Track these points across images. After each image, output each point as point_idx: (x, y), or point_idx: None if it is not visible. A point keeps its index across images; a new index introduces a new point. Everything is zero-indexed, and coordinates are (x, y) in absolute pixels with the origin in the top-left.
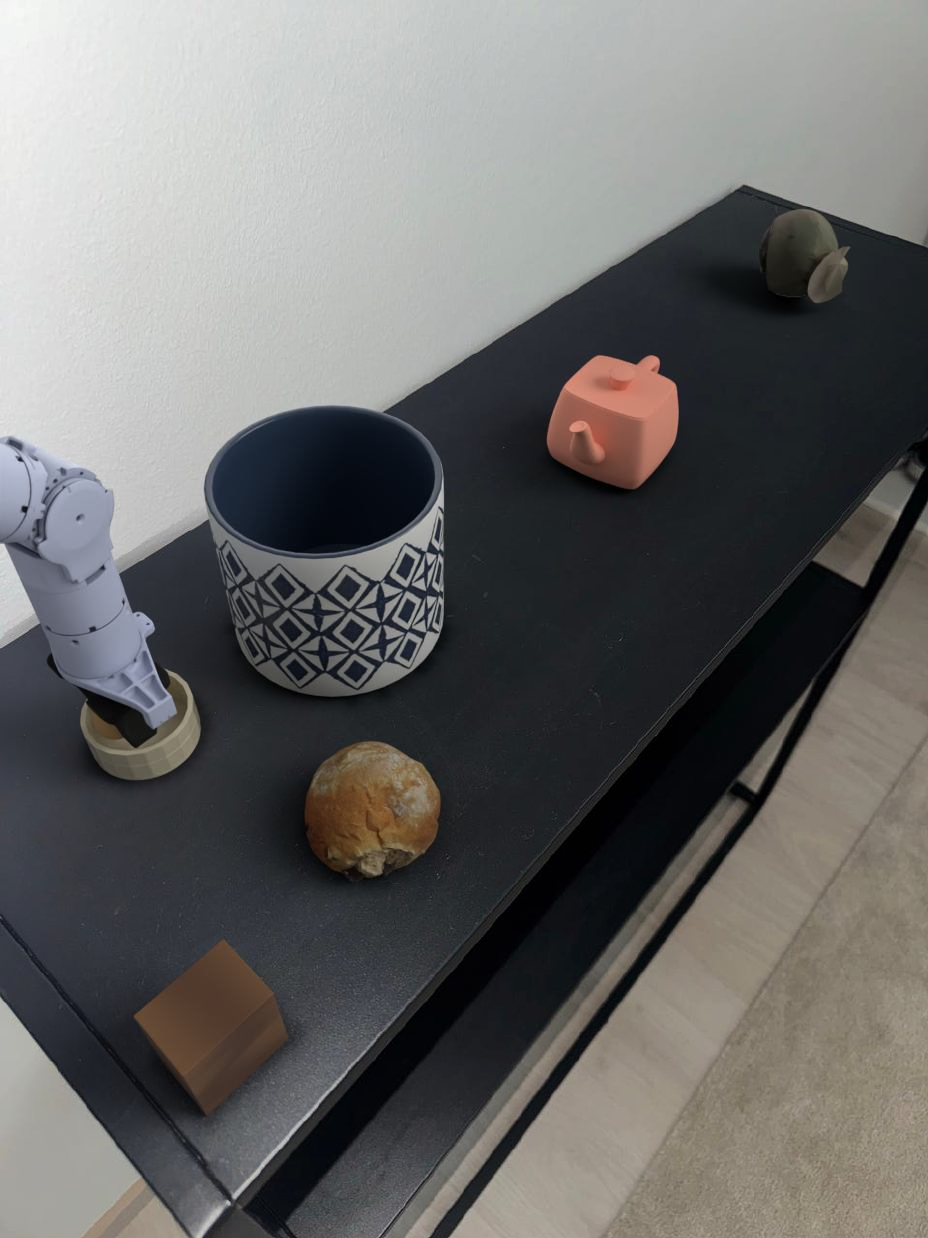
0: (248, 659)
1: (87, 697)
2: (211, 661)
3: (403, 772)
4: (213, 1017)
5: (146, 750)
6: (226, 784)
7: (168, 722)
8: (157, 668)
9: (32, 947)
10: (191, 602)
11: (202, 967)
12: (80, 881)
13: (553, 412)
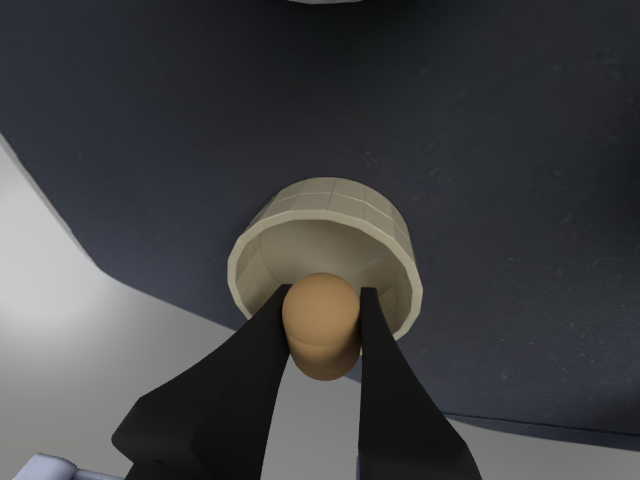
0: (311, 2)
1: (279, 383)
2: (250, 81)
3: None
4: None
5: (406, 329)
6: (504, 224)
7: (335, 226)
8: (402, 472)
9: (459, 413)
10: (71, 14)
11: None
12: (442, 375)
13: None
